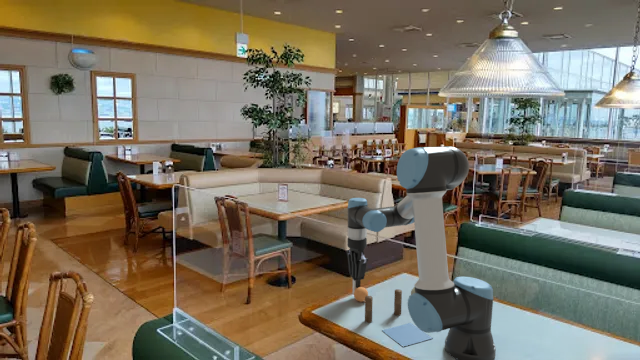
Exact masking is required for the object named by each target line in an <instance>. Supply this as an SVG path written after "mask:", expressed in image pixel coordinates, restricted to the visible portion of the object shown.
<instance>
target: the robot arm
mask: <svg viewBox="0 0 640 360" xmlns="http://www.w3.org/2000/svg"><path fill="white" fill-rule="evenodd" d="M469 171H470V163H469V160H468V157H467V155H466V154H465V153H464V151H462V150H461V149H459V148H457V147H455V146H448V145H446V146H445V145H444V146H424V147H423V146H422V147H421V146H420V147H414V148H413V147H412V148H409V149H406V150H405V151H403V153H402V154H401V155H400V157H399V159H398V162H397V166H396V177H397V178H396V179H397V181H398V182H399V185H400V186H401V187H402V188H405V190H406V196H405V197H403V199H401V200H400V201H399V202H398V203H397V204H395V205H394V206H392V205H391V206H385V207H384V206H383V207H377V208H375V207H374V208H372V207H368V206H369V205H368V199H366V198H363V197H352V198H349V200H348V202H347V242H346V243H347V247H348V248H349V250H348V249H347V250H346V256H347V263H348V273H349V276H351V278H352V295H353V296H354V291H355V290H356V289H357V288H358V287H362V286H361V280H364V279H365V275H366V269H367V264H368V261H369V258H368V257H365V249H366V248H367V244H368V242H367V241H368V240H367V239H368V238H367V237H368V236H367V233H368V232H367V231H370V232H374V233H378V232H382V231H383V230H384V229H385V228H390V227H401V226H408V225H412V224H414V232H415V233H414V235H415V237H414V238H415V246H416V247H415V248H416V257H417V258H416V260H417V272H418V273H417V274H418V280H417V281H416V282H415V283H414V285H413V288H415V293H413V294H412V295H411V294H410V295H409V297H408V299H407V309H408V312H409V316H410V318H411V320H412V321H413V323H414V326H416V327H417V328H419V329H420V330H422V331H423V332H424V333H426V334H431V333H438V332H440V333H441V332H442V331H445V330H448V333H447V335H446V337H445V339H444V349H445V352H446V353H447V354H448V355H450V357H452V358H453V359H455V360H494V359H495V358H496V344H495V342H494V337H493V334H492V319H493V307H494V306H493V305H494V299H495V298H494V289H493V287H492V285H491V284H490V283H488V282H487V281H485V280H482V279H479V278H476V277H472V276H456V277H454V280H453V281H452V280H451V279H450V278H449V267H448V254H447V243H446V232H445V231H446V230H445V220H444V219H445V218H444V207H443V197H444V195H445V194H446V193H447V191H451V190H454V189H455V188H457V187H458V186H460V185H461V184H462V183H463V182H464V181H465V179H466V178H467V176H468V174H469Z"/></svg>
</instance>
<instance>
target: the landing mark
mask: <svg viewBox="0 0 640 360" xmlns="http://www.w3.org/2000/svg"><path fill="white" fill-rule="evenodd" d="M381 332H383V333H384V334H385V335H387V336H388V337H389V338H391V339H392V340H393V341H395V343H397V344H398V343H399V344H400V345H399V344H398V345H399V346H401V347H402V345H403V347H402V348H405V347H404V346H406V347H409V346H413V345H416V344H419V343H422V342H426V341H427V342H428V341H430V340H433V337H431V336H430V335H429V334H428V333H426V332H423V331H422V330H420V329H419V328H418V327H417V326H416V325H415V324H413V323H411V322H408V323H403V324H400V325H396V326H393V327H390V328H389V327H388V328H384V329H381ZM408 345H409V346H408Z"/></svg>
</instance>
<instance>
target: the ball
mask: <svg viewBox="0 0 640 360" xmlns="http://www.w3.org/2000/svg"><path fill="white" fill-rule="evenodd" d="M353 296H354V299H355V300H356V301H357V302H365V297H366V296H369V291H368V290H367V288H365V287H364V286H360V287H358V288H357V289H356V290H355V291H354V295H353Z"/></svg>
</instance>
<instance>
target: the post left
mask: <svg viewBox="0 0 640 360" xmlns="http://www.w3.org/2000/svg"><path fill="white" fill-rule="evenodd" d="M373 297H374V296H373V295H368V296H366V297H365V301H364V322H365V323H367V324H370V323H372V322H373Z"/></svg>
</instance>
